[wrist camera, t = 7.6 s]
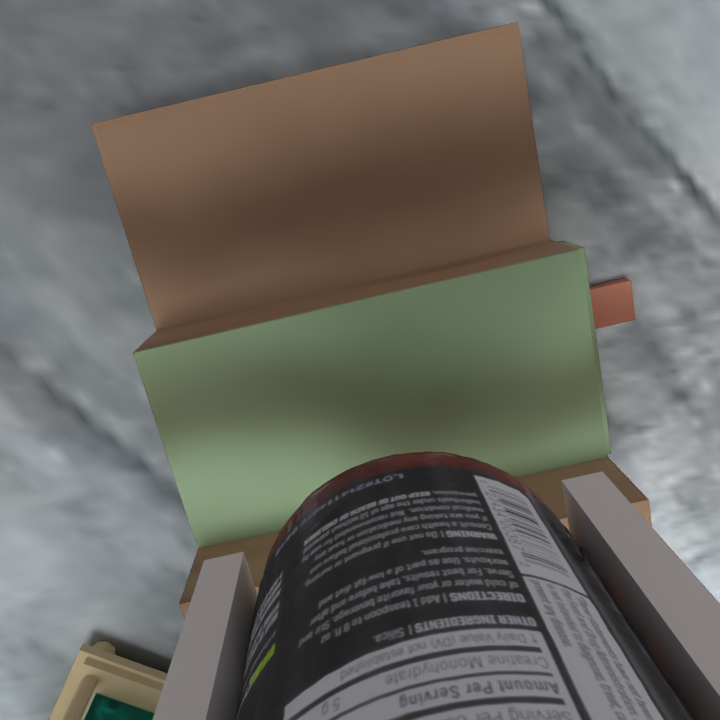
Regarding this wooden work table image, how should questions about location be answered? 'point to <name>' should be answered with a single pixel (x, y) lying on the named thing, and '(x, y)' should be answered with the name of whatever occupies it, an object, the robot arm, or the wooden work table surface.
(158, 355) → the step stand
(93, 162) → the wooden work table surface
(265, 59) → the wooden work table surface
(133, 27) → the wooden work table surface
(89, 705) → the carriage clock
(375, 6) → the wooden work table surface
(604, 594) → the supplement bottle
